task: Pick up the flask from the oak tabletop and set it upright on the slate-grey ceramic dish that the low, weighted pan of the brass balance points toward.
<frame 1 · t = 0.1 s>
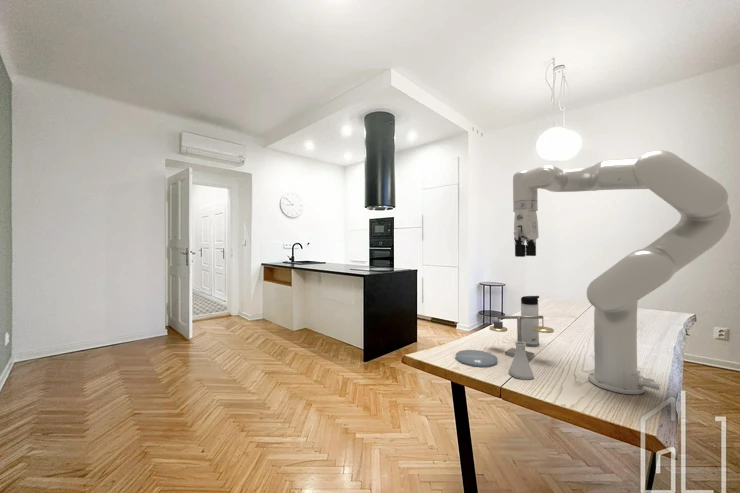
hand: (525, 256, 103), 37 cm above the table, tool pointing down, fingers open, 9 cm apart
flask: (521, 375, 92), on the table
tipped balance: (519, 355, 109), on the table
travel mug: (530, 344, 121), on the table
slate dish: (476, 359, 106), on the table
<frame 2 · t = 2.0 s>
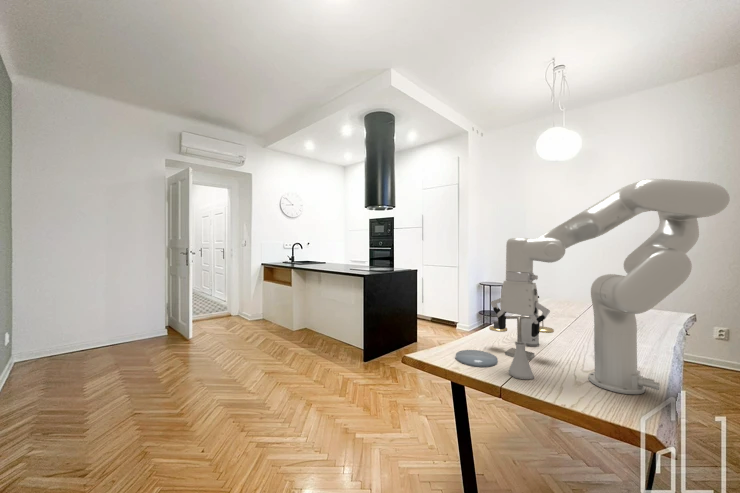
hand: (517, 332, 93), 13 cm above the table, tool pointing down, fingers open, 9 cm apart
nothing on the table moved.
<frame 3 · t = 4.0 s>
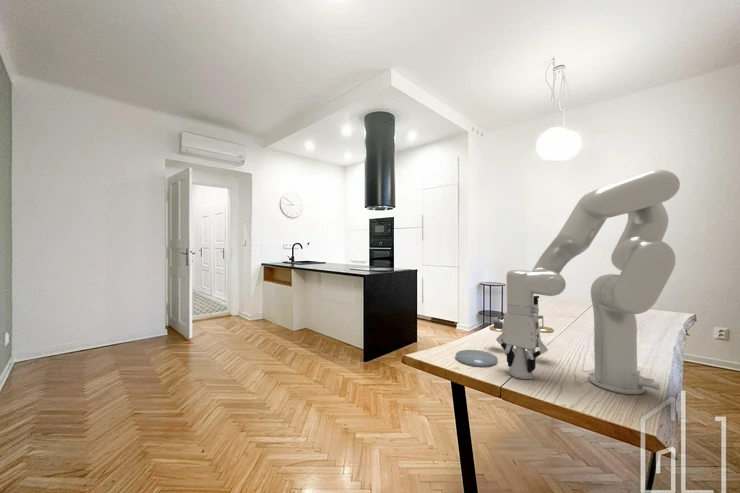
hand: (520, 367, 92), 2 cm above the table, tool pointing down, fingers closed on flask, 5 cm apart
flask: (520, 375, 92), on the table, touching gripper
everything else where it was.
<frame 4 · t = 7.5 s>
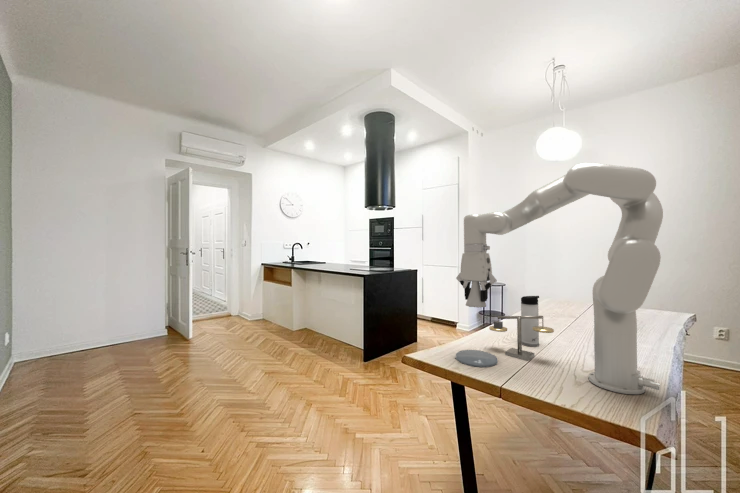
hand: (475, 299, 106), 21 cm above the table, tool pointing down, fingers closed on flask, 5 cm apart
flask: (475, 306, 106), point 19 cm above the table, touching gripper
everything else where it was.
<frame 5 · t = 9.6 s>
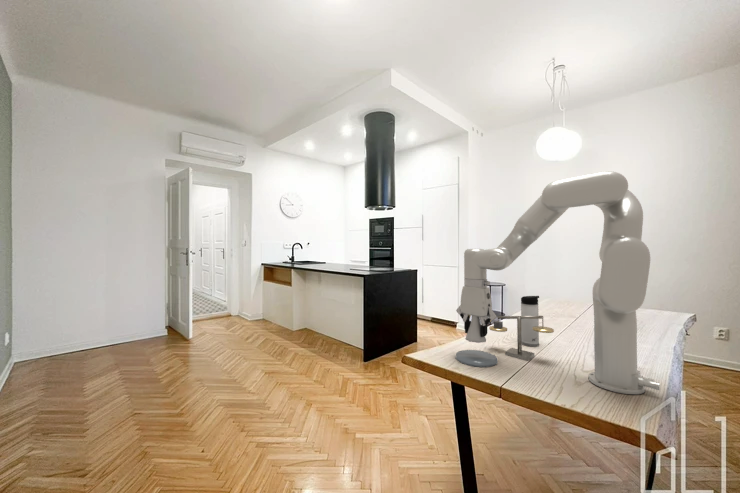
hand: (475, 333, 106), 9 cm above the table, tool pointing down, fingers closed on flask, 5 cm apart
flask: (475, 340, 106), point 7 cm above the table, touching gripper
everything else where it was.
when the fingers open (5 cm above the table, at t = 11.3 s): flask drops 1 cm, resting on slate dish.
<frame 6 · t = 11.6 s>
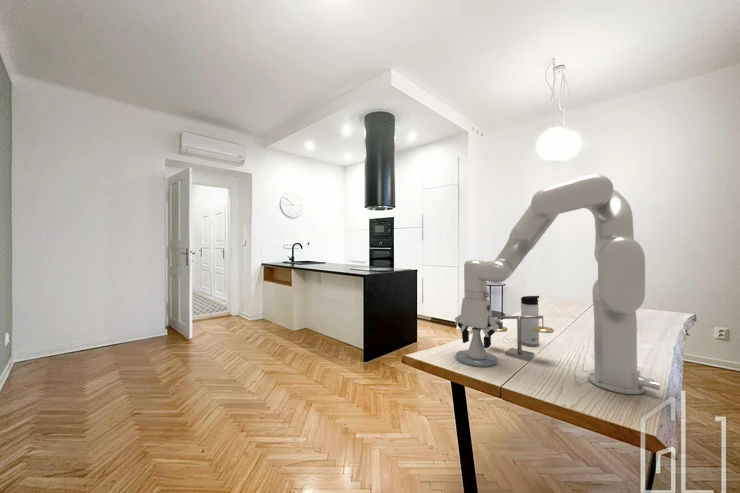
hand: (476, 344, 106), 5 cm above the table, tool pointing down, fingers open, 7 cm apart
flask: (476, 357, 106), point 1 cm above the table, touching slate dish
everything else where it was.
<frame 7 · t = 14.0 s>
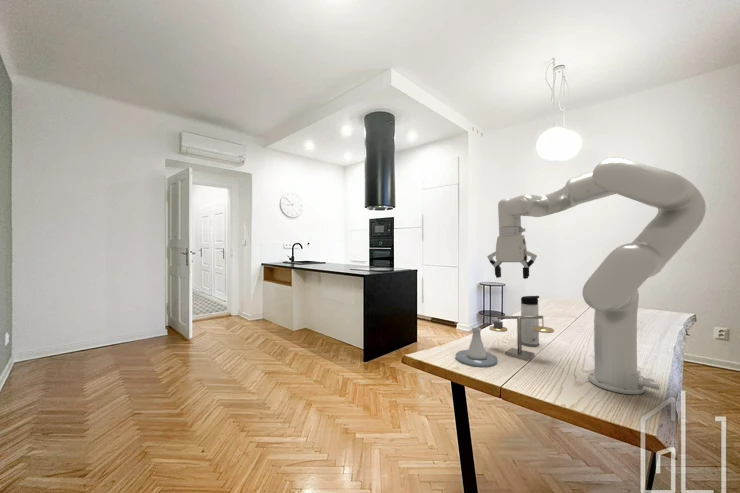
hand: (511, 277, 110), 28 cm above the table, tool pointing down, fingers open, 9 cm apart
nothing on the table moved.
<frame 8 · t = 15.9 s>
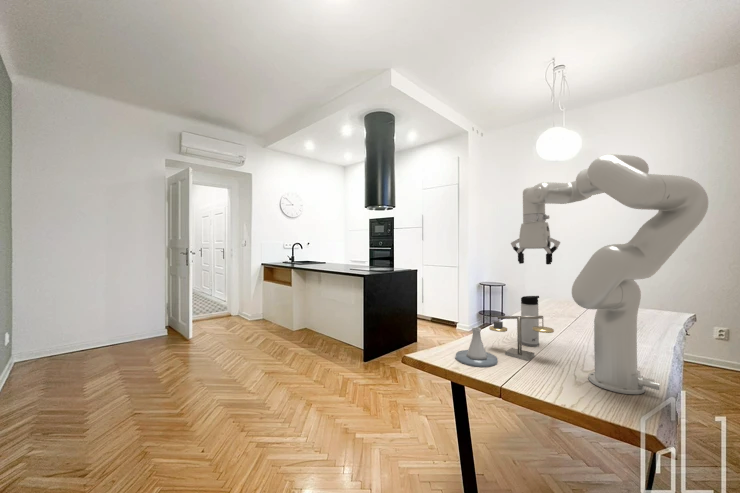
hand: (534, 263, 114), 33 cm above the table, tool pointing down, fingers open, 9 cm apart
nothing on the table moved.
at the end: flask inside the target area on the slate dish (0.2 cm from its centre), point 0.8 cm above the slate dish's base; flask tilted 0°; the gripper is holding nothing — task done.
